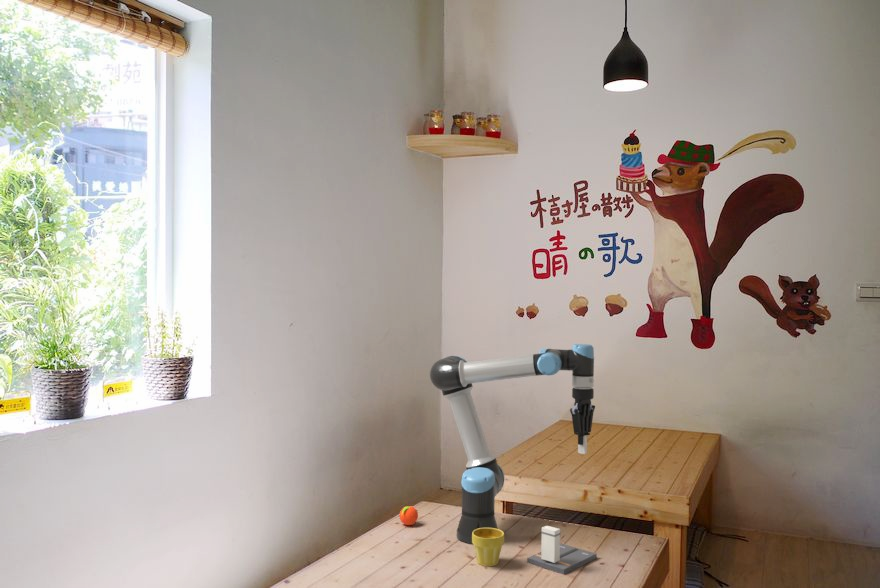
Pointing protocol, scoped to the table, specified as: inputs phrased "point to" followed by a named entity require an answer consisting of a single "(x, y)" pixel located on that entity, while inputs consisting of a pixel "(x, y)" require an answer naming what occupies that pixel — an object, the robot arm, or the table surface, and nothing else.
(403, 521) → the clementine
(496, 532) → the plant pot
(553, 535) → the cap
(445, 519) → the table surface
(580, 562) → the fader board
